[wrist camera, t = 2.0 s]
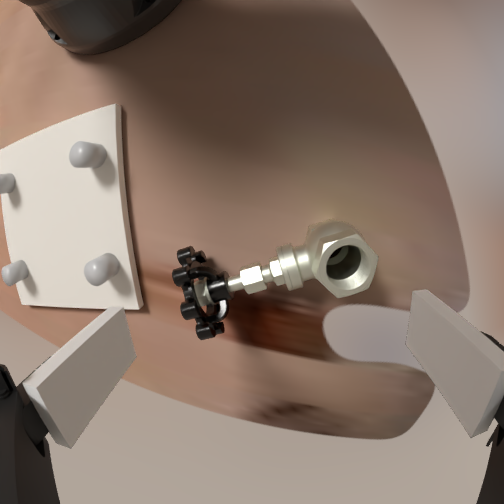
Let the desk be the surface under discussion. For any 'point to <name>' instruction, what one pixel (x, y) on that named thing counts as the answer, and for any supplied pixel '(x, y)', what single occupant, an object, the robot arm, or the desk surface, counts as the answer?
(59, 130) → the mounting plate
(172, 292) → the desk surface
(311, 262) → the valve
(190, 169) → the desk surface
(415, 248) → the desk surface
